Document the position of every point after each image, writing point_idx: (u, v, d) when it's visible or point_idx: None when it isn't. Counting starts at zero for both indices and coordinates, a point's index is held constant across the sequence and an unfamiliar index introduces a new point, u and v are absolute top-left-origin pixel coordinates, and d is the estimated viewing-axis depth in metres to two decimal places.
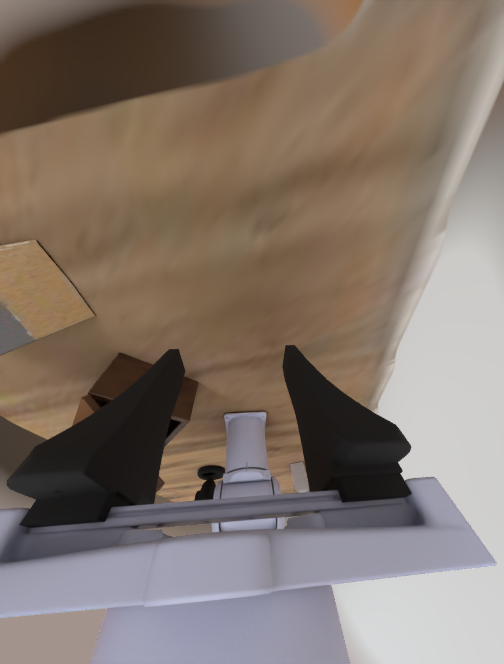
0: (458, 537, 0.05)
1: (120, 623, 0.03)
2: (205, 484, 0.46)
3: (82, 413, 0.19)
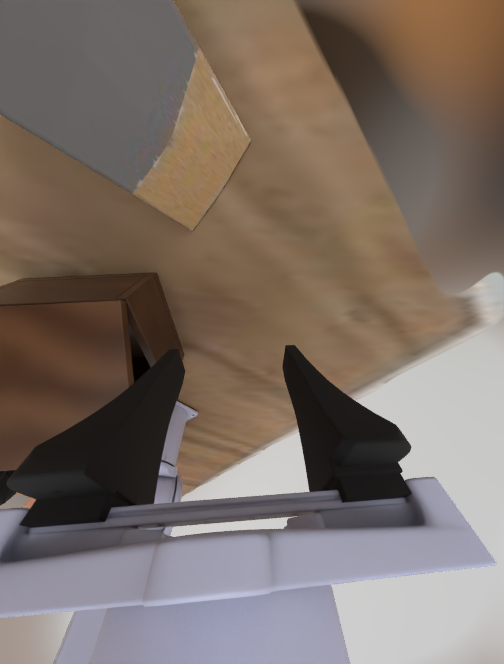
0: (458, 537, 0.05)
1: (120, 624, 0.03)
2: None
3: (90, 313, 0.13)
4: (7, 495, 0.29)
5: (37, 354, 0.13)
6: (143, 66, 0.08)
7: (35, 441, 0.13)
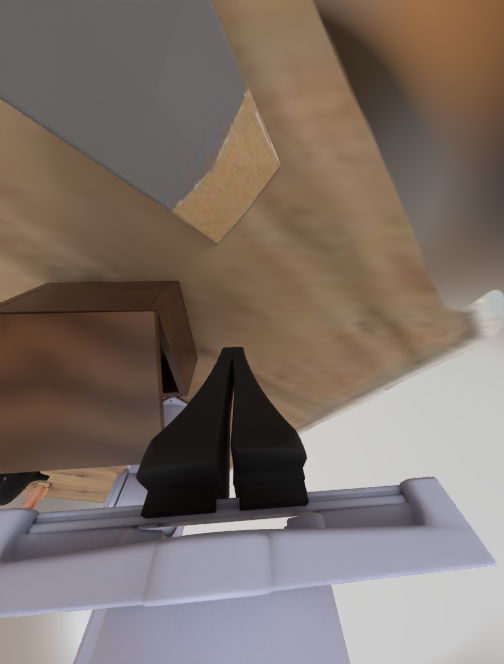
0: (458, 537, 0.05)
1: (120, 623, 0.03)
2: None
3: (125, 322, 0.14)
4: (14, 494, 0.29)
5: (72, 360, 0.14)
6: (200, 105, 0.09)
7: (67, 443, 0.14)
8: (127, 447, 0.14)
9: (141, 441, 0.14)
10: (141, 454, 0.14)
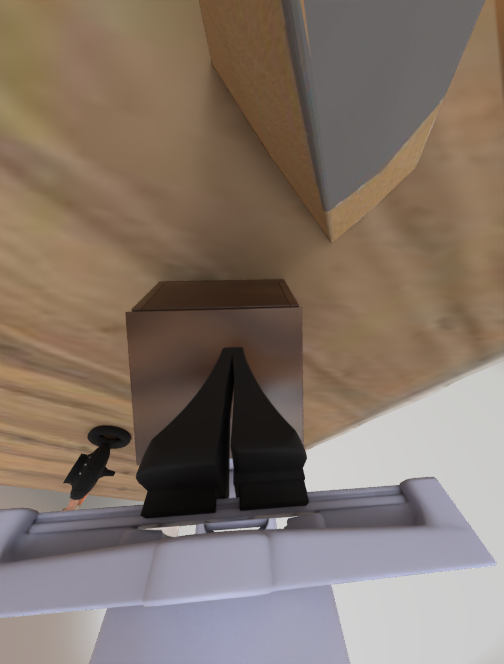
0: (458, 537, 0.05)
1: (121, 623, 0.03)
2: (105, 449, 0.33)
3: (275, 318, 0.14)
4: (89, 488, 0.29)
5: None
6: (413, 111, 0.10)
7: None
8: None
9: None
10: None
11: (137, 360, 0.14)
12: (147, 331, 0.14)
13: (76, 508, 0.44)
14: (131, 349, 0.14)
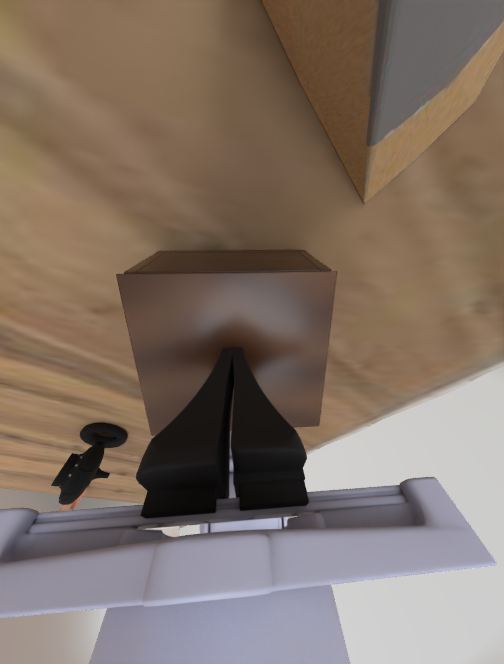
0: (458, 537, 0.05)
1: (120, 623, 0.03)
2: (98, 449, 0.30)
3: (302, 285, 0.12)
4: (80, 492, 0.26)
5: (241, 328, 0.12)
6: None
7: (231, 409, 0.14)
8: (288, 412, 0.14)
9: (302, 407, 0.14)
10: (301, 418, 0.15)
11: (138, 333, 0.12)
12: (146, 299, 0.11)
13: None
14: (130, 321, 0.12)
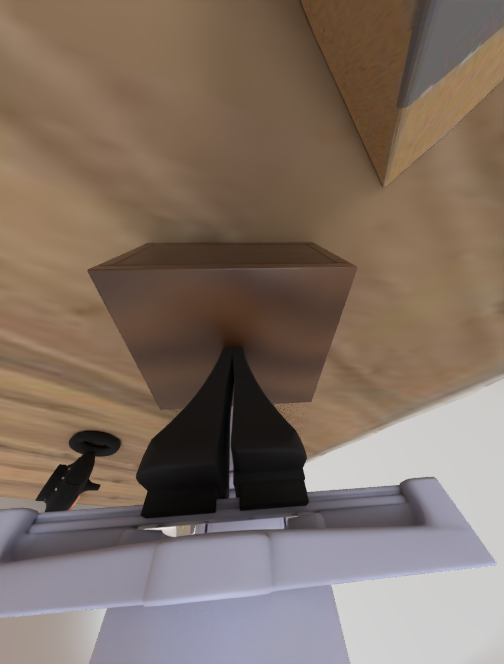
0: (458, 537, 0.05)
1: (120, 624, 0.03)
2: (88, 459, 0.28)
3: (314, 282, 0.10)
4: (67, 507, 0.24)
5: (241, 326, 0.11)
6: None
7: None
8: (284, 393, 0.16)
9: (298, 389, 0.15)
10: (295, 397, 0.16)
11: (130, 331, 0.11)
12: (131, 298, 0.10)
13: None
14: (118, 320, 0.10)
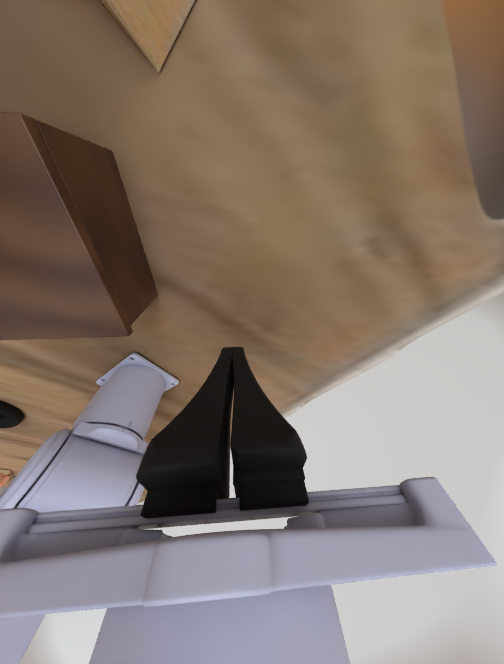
0: (458, 537, 0.05)
1: (120, 624, 0.03)
2: None
3: None
4: None
5: None
6: None
7: (18, 316, 0.13)
8: (85, 322, 0.14)
9: (98, 316, 0.14)
10: (103, 328, 0.14)
11: None
12: None
13: None
14: None
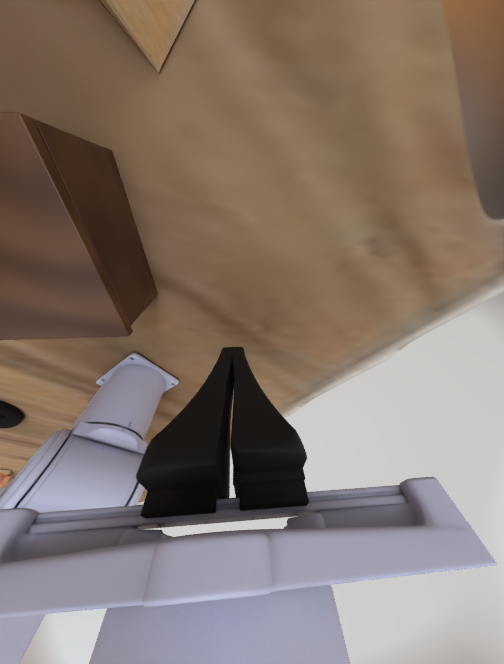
0: (458, 537, 0.05)
1: (121, 623, 0.03)
2: None
3: None
4: None
5: None
6: None
7: (18, 316, 0.13)
8: (85, 321, 0.14)
9: (98, 316, 0.14)
10: (103, 328, 0.14)
11: None
12: None
13: None
14: None
